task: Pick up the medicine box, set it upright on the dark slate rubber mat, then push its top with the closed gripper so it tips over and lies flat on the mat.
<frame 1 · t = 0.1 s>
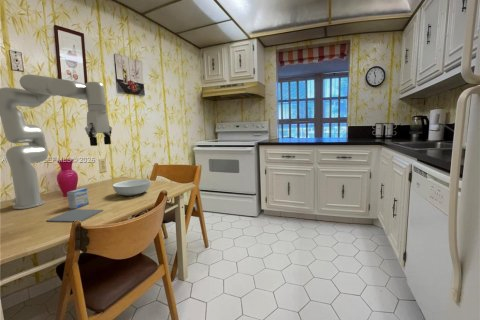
hand: (101, 145, 115), 31 cm above the table, tool pointing down, fingers open, 9 cm apart
medicine box: (79, 206, 121), on the table
slate mat: (76, 215, 107), on the table
serving bowl: (133, 194, 143), on the table
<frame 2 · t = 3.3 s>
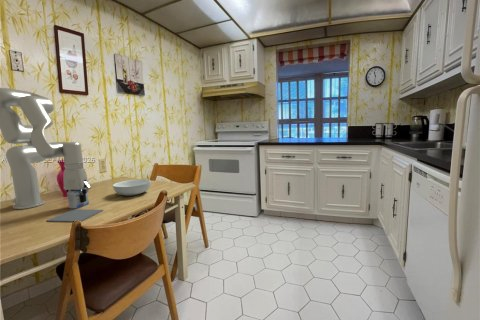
hand: (78, 201, 121), 2 cm above the table, tool pointing down, fingers closed on medicine box, 4 cm apart
medicine box: (79, 206, 121), on the table, touching gripper
everything else where it was.
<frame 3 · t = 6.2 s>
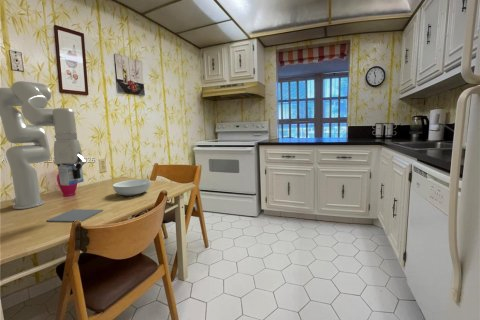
hand: (71, 178, 105), 17 cm above the table, tool pointing down, fingers closed on medicine box, 4 cm apart
medicine box: (72, 183, 105), point 15 cm above the table, touching gripper
everything else where it was.
when the fingers open (4 cm above the table, at t = 9.0 s): medicine box drops 1 cm, resting on slate mat.
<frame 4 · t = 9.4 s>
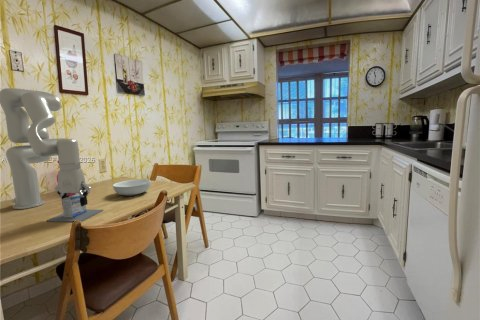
hand: (75, 205, 106), 5 cm above the table, tool pointing down, fingers open, 8 cm apart
medicine box: (75, 215, 107), resting on slate mat
everything else where it was.
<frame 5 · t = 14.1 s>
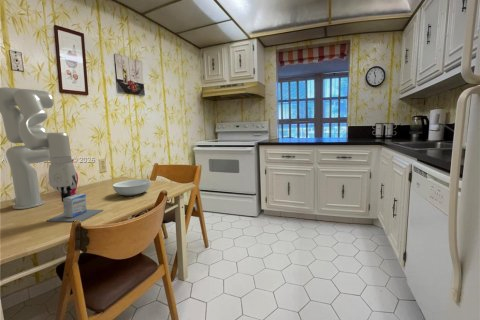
hand: (66, 201, 106), 7 cm above the table, tool pointing down, fingers closed
nothing on the table moved.
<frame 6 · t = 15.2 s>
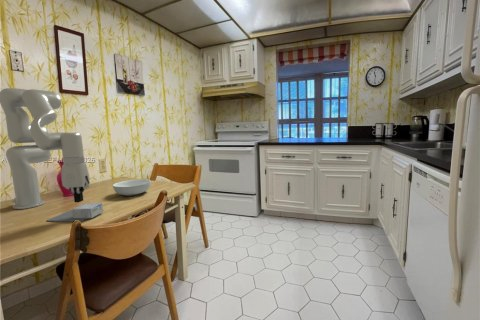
hand: (79, 201, 106), 7 cm above the table, tool pointing down, fingers closed
medicine box: (78, 210, 106), point 3 cm above the table, touching slate mat
everything else where it was.
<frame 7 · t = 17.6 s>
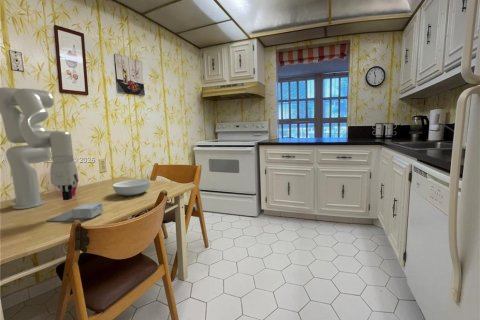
hand: (67, 199, 107), 7 cm above the table, tool pointing down, fingers closed
nothing on the table moved.
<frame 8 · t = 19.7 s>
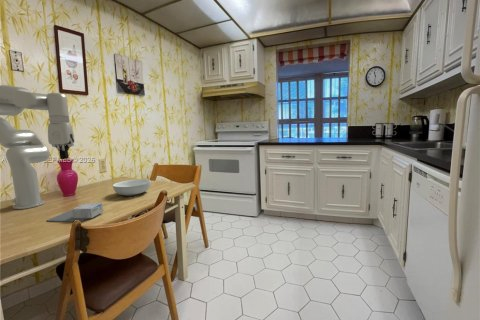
hand: (64, 158, 114), 25 cm above the table, tool pointing down, fingers closed
nothing on the table moved.
at the end: medicine box tilted 91°; medicine box inside the target area on the slate mat (0.7 cm from its centre), point 2.8 cm above the slate mat's base; the gripper is holding nothing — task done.
